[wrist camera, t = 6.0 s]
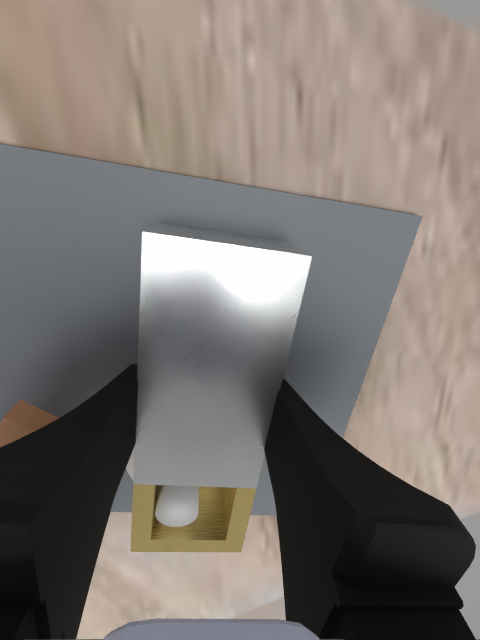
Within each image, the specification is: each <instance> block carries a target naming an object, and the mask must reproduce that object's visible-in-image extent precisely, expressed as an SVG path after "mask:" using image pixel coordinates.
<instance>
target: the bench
mask: <svg viewBox="0 0 480 640" xmlns="http://www.w3.org/2000/svg"><path fill="white" fill-rule="evenodd" d="M421 219H422V216H419V215H413V214H407V213H402V212H396V211H390V210H384V209H378V208H372V207H367V206H361V205H355V204H349V203H343V202H337V201H331V200H326V199H320V198H314V197H308V196H302V195H296V194H291V193H285V192H279V191H273V190H267V189H261V188H255V187H250V186H244V185H238V184H232V183H226V182H220V181H215V180H209V179H203V178H197V177H191V176H185V175H179V174H174V173H168V172H162V171H156V170H150V169H144V168H139V167H133V166H127V165H121V164H115V163H109V162H103V161H98V160H92V159H86V158H80V157H74V156H68V155H63V154H57V153H51V152H45V151H39V150H33V149H27V148H22V147H16V146H10V145H4V144H0V422H1V421H2V419H3V418H4V416H5V415H6V414H7V413H8V412H9V411H10V410H11V409H12V408H13V406H14V405H15V404H16V403H17V402H18V401H19V400H23V401H25V402H27V403H29V404H31V405H33V406H35V407H37V408H39V409H41V410H44V411H46V412H48V413H50V414H52V415H54V416H56V417H58V418H60V417H62V416H63V415H65V414H67V413H68V412H70V411H71V410H73V409H74V408H76V407H77V406H79V405H80V404H82V403H83V402H84V401H86V400H87V399H89V398H90V397H91V396H93V395H94V394H95V393H97V392H98V391H99V390H100V389H102V388H103V387H104V386H106V385H107V384H108V383H109V382H111V381H112V380H113V379H114V378H115V377H116V376H118V375H119V374H120V373H121V372H122V371H123V370H125V369H126V368H127V367H128V366H129V365H131V364H138V338H139V310H140V283H141V255H142V232H143V231H145V230H146V229H148V228H150V227H151V226H153V225H155V224H157V223H158V222H164V223H171V224H177V225H184V226H191V227H197V228H204V229H211V230H217V231H224V232H231V233H237V234H244V235H251V236H257V237H264V238H271V239H277V240H284V241H289V242H291V243H292V244H294V245H295V246H297V247H298V248H300V249H302V250H303V251H305V252H306V253H308V254H309V255H311V256H312V259H311V264H310V268H309V272H308V276H307V280H306V284H305V289H304V293H303V297H302V301H301V305H300V309H299V313H298V318H297V322H296V326H295V330H294V334H293V338H292V343H291V347H290V351H289V355H288V359H287V363H286V368H285V372H284V376H283V379H285V380H286V381H287V382H288V383H289V384H290V385H291V386H292V388H293V389H294V390H295V391H296V392H297V393H298V394H299V396H300V397H301V398H302V399H303V400H304V401H305V402H306V403H307V404H308V406H309V407H310V408H311V409H312V410H313V411H314V412H315V413H316V414H317V415H318V416H319V417H320V418H321V419H322V420H323V421H324V422H325V423H326V424H327V425H328V426H329V427H330V428H331V429H333V430H334V431H335V432H336V433H337V434H338V435H339V436H340V437H342V438H343V435H344V432H345V429H346V427H347V424H348V421H349V418H350V416H351V413H352V410H353V407H354V405H355V402H356V399H357V396H358V393H359V391H360V388H361V385H362V382H363V380H364V377H365V374H366V371H367V369H368V366H369V363H370V360H371V357H372V355H373V352H374V349H375V346H376V344H377V341H378V338H379V335H380V333H381V330H382V327H383V324H384V322H385V319H386V316H387V313H388V310H389V308H390V305H391V302H392V299H393V297H394V294H395V291H396V288H397V286H398V283H399V280H400V277H401V275H402V272H403V269H404V266H405V263H406V261H407V258H408V255H409V252H410V250H411V247H412V244H413V241H414V239H415V236H416V233H417V230H418V227H419V225H420V222H421ZM134 449H135V446H134ZM134 449H133V451H132V454H131V456H130V459H129V461H128V464H127V466H126V469H125V472H124V474H123V477H122V479H121V482H120V484H119V487H118V489H117V492H116V495H115V498H114V501H113V504H112V508H111V511H110V512H132V505H133V477H134ZM198 509H199V486H172V485H160V487H159V493H158V499H157V504H156V510H155V516H156V518H157V520H158V521H159V522H160V523H162V524H164V525H166V526H170V527H182V526H186V525H188V524H190V523H192V522H193V521H194V520H195V519H196V518H197V516H198ZM250 515H277V514H276V506H275V500H274V494H273V490H272V485H271V480H270V476H269V471H268V466H267V462H266V457H265V455H264V459H263V463H262V467H261V471H260V476H259V480H258V484H257V488H256V492H255V496H254V501H253V505H252V509H251V513H250Z"/></svg>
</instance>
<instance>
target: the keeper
mask: <svg viewBox="0 0 480 640" xmlns="http://www.w3.org/2000/svg"><path fill="white" fill-rule="evenodd" d="M56 419H58V417H56V416H54V415H52V414H50V413H48V412H46V411H44V410H41V409H39V408H37V407H35V406H33V405H31V404H29V403H27V402H25V401H23V400H19V401H18V402H17V403H16V404H15V405H14V406H13V408H12V409H11V410H10V411H9V412H8V413H7V414H6V415H5V416H4V418H3V419H2V421H1V422H0V447H2V446H4V445H7V444H9V443H11V442H14V441H16V440H18V439H20V438H22V437H24V436H26V435H28V434H30V433H32V432H34V431H36V430H38V429H40V428H42V427H44V426H46V425H48V424H49V423H51V422H53V421H55V420H56Z"/></svg>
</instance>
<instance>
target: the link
mask: <svg viewBox="0 0 480 640" xmlns="http://www.w3.org/2000/svg"><path fill="white" fill-rule="evenodd" d="M311 259H312V256H311V255H309V254H308V253H306V252H305V251H303V250H302V249H300V248H298V247H297V246H295V245H294V244H292V243H291V242H289V241H284V240H277V239H271V238H264V237H257V236H251V235H244V234H237V233H231V232H224V231H217V230H211V229H204V228H197V227H191V226H184V225H177V224H171V223H164V222H158V223H157V224H155V225H153V226H151V227H150V228H148V229H146V230H145V231H143V232H142V255H141V283H140V310H139V338H138V366H137V379H138V398H137V423H136V444H135V449H134V477H133V505H132V533H131V552H241V550H242V546H243V542H244V538H245V534H246V530H247V526H248V521H249V517H250V513H251V509H252V505H253V501H254V496H255V492H256V488H257V484H258V480H259V476H260V471H261V467H262V463H263V459H264V455H265V452H264V448H265V444H266V440H267V435H268V431H269V427H270V423H271V418H272V414H273V410H274V406H275V401H276V397H277V393H278V391H280V388H281V384H282V380H283V376H284V372H285V368H286V363H287V359H288V355H289V351H290V347H291V343H292V338H293V334H294V330H295V326H296V322H297V318H298V313H299V309H300V305H301V301H302V297H303V293H304V289H305V284H306V280H307V276H308V272H309V268H310V264H311ZM160 485H172V486H199V509H198V516H197V518H196V519H195V520H194V521H193V522H192V523H190V524H188V525H186V526H182V527H170V526H166V525H164V524H162V523H160V522H159V521H158V520H157V518H156V516H155V510H156V504H157V499H158V493H159V487H160Z"/></svg>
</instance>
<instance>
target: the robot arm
mask: <svg viewBox="0 0 480 640" xmlns="http://www.w3.org/2000/svg"><path fill="white" fill-rule="evenodd" d="M137 366H138V364H131V365H129V366H128V367H127V368H126V369H125V370H123V371H122V372H121V373H120V374H119V375H118V376H116V377H115V378H114V379H113V380H112V381H111V382H109V383H108V384H107V385H106V386H104V387H103V388H102V389H100V390H99V391H98V392H97V393H95V394H94V395H93V396H91V397H90V398H89V399H87V400H86V401H84V402H83V403H82V404H80V405H79V406H77V407H76V408H74V409H73V410H71V411H70V412H68V413H67V414H65V415H63V416H62V417H60V418H58V419H56V420H55V421H53V422H51V423H49V424H48V425H46V426H44V427H42V428H40V429H38V430H36V431H34V432H32V433H30V434H28V435H26V436H24V437H22V438H20V439H18V440H16V441H14V442H11V443H9V444H7V445H4V446H2V447H0V640H480V639H475V637H474V635H473V634H472V632H471V630H470V628H469V627H468V625H467V623H466V621H465V620H464V618H463V616H462V614H461V612H460V611H459V609H462V607H463V601H462V599H461V598H460V596H459V594H458V593H457V591H456V589H455V585H456V584H457V583H458V581H459V580H460V579H461V577H462V576H463V574H464V573H465V572H466V570H467V569H468V568H469V566H470V564H471V563H472V561H473V559H474V555H475V549H476V545H475V542H474V540H473V538H472V536H471V535H470V533H469V532H468V531H467V529H466V528H465V526H464V525H463V524H462V522H461V521H460V519H459V518H458V517H457V515H456V514H455V512H454V511H453V510H452V508H451V507H450V506H449V505H448V504H446V503H444V502H442V501H440V500H438V499H436V498H434V497H432V496H430V495H428V494H427V493H425V492H423V491H421V490H419V489H417V488H415V487H413V486H411V485H410V484H408V483H406V482H405V481H403V480H401V479H400V478H398V477H396V476H395V475H393V474H391V473H390V472H388V471H387V470H385V469H384V468H382V467H380V466H379V465H378V464H376V463H375V462H373V461H372V460H370V459H369V458H368V457H366V456H365V455H363V454H362V453H361V452H359V451H358V450H357V449H355V448H354V447H353V446H351V445H350V444H349V443H348V442H347V441H345V440H344V439H343V438H342V437H340V436H339V435H338V434H337V433H336V432H335V431H334V430H333V429H331V428H330V427H329V426H328V425H327V424H326V423H325V422H324V421H323V420H322V419H321V418H320V417H319V416H318V415H317V414H316V413H315V412H314V411H313V410H312V409H311V408H310V407H309V406H308V404H307V403H306V402H305V401H304V400H303V399H302V398H301V397H300V396H299V394H298V393H297V392H296V391H295V390H294V389H293V388H292V386H291V385H290V384H289V383H288V382H287V381H286V380H285V379H283V380H282V384H281V388H280V391H278V393H277V397H276V401H275V406H274V410H273V414H272V418H271V423H270V427H269V431H268V435H267V440H266V444H265V448H264V452H265V457H266V462H267V466H268V471H269V476H270V480H271V485H272V490H273V494H274V500H275V506H276V514H277V523H278V532H279V541H280V552H281V562H282V574H283V586H284V599H285V612H286V621H284V620H278V619H150V620H143V621H135V622H129V623H127V624H125V625H123V626H121V627H119V628H117V629H115V630H114V631H112V632H110V633H109V634H108V635H107V636H105V637H104V639H76V637H77V633H78V629H79V625H80V621H81V617H82V613H83V610H84V606H85V602H86V598H87V594H88V591H89V587H90V583H91V579H92V576H93V572H94V568H95V564H96V561H97V557H98V553H99V550H100V546H101V543H102V539H103V536H104V532H105V528H106V525H107V522H108V518H109V515H110V511H111V508H112V504H113V501H114V498H115V495H116V492H117V489H118V487H119V484H120V482H121V479H122V477H123V474H124V472H125V469H126V466H127V464H128V461H129V459H130V456H131V454H132V451H133V449H134V446H135V444H136V423H137V398H138V379H137Z"/></svg>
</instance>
